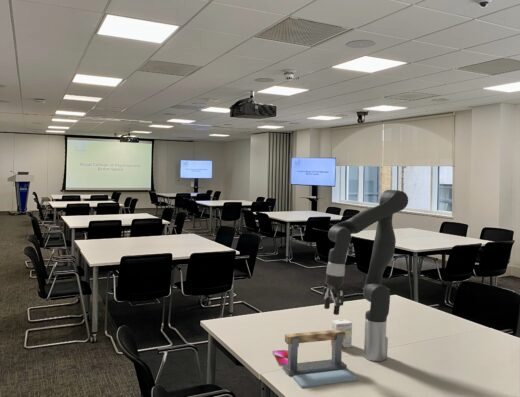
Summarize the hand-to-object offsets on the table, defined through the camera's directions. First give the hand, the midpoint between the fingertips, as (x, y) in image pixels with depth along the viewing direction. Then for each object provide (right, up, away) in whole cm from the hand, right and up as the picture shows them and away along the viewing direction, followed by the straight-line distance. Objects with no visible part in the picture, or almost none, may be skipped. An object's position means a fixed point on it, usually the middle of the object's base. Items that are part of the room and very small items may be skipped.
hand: (331, 311), depth 186 cm
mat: (-4, -24, -12) cm, 27 cm away
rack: (-7, -23, -3) cm, 24 cm away
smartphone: (-20, -23, +7) cm, 31 cm away
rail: (-7, -11, -3) cm, 13 cm away
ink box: (+8, -23, +23) cm, 33 cm away
